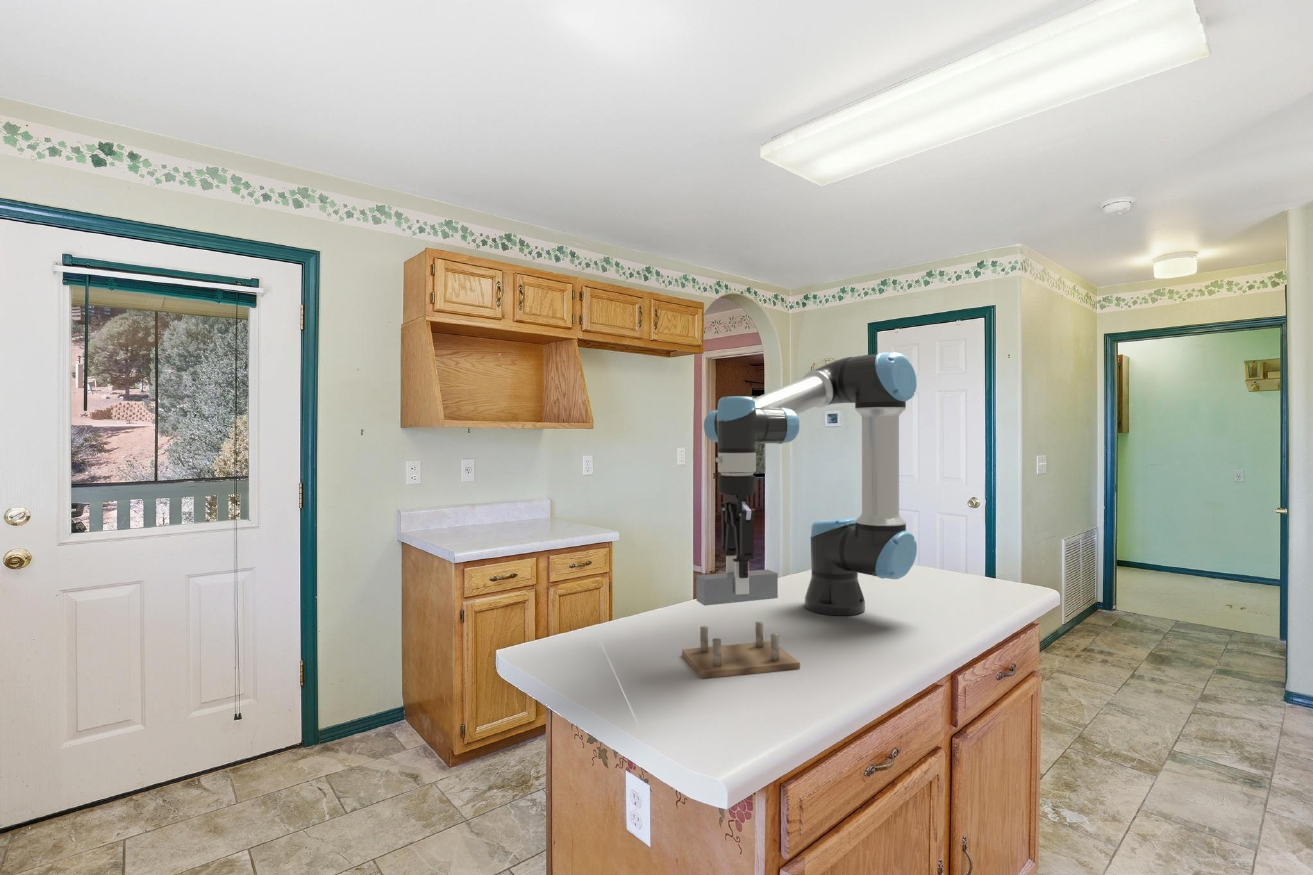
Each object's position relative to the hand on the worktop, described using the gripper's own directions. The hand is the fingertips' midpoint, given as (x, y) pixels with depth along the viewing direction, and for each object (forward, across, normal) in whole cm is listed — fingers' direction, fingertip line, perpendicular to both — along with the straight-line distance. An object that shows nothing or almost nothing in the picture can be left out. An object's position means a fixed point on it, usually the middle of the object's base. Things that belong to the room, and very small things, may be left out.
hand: (737, 590), depth 128 cm
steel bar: (+2, 0, 0) cm, 2 cm away
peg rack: (+14, 0, 0) cm, 14 cm away
